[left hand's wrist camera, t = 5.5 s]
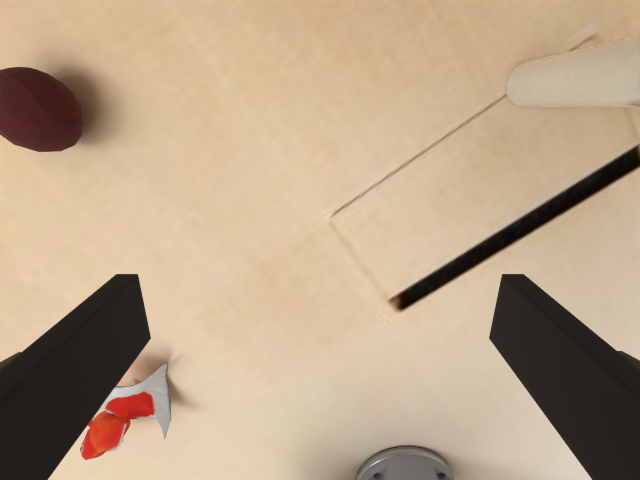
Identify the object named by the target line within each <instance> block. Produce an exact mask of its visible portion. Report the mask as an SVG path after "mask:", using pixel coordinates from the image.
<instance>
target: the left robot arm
mask: <svg viewBox="0 0 640 480" xmlns="http://www.w3.org/2000/svg"><path fill="white" fill-rule="evenodd" d="M150 339H151V337H150V332H149V327H148V322H147V317H146V312H145V307H144V302H143V297H142V292H141V287H140V283H139V278H138V274H116V275H115V276H114V277H113V278H111V279H110V280H109V281H108V282H106V283H105V284H104V285H103V286H102V287H100V288H99V289H98V290H97V291H96V292H94V293H93V294H92V295H91V296H90V297H88V298H87V299H86V300H85V301H83V302H82V303H81V304H80V305H79V306H77V307H76V308H75V309H74V310H73V311H71V312H70V313H69V314H68V315H66V316H65V317H64V318H63V319H62V320H60V321H59V322H58V323H57V324H56V325H54V326H53V327H52V328H51V329H49V330H48V331H47V332H46V333H45V334H43V335H42V336H41V337H40V338H39V339H37V340H36V341H35V342H34V343H32V344H31V345H30V346H29V347H28V348H26V349H25V350H24V351H23V352H18V353H16V354H15V355H13V356H11V357H9V358H7V359H5V360H3V361H2V362H0V480H48V478H49V477H50V476H51V474H52V473H53V472H54V470H55V469H56V467H57V466H58V465H59V463H60V462H61V461H62V459H63V458H64V456H65V455H66V454H67V452H68V451H69V450H70V448H71V447H72V446H73V444H74V443H75V441H76V440H77V439H78V437H79V436H80V435H81V433H82V432H83V430H84V429H85V428H86V426H87V425H88V424H89V422H90V421H91V420H92V418H93V417H94V415H95V414H96V413H97V411H98V410H99V409H100V407H101V406H102V404H103V403H104V402H105V400H106V399H107V398H108V396H109V395H110V393H111V392H112V391H113V389H114V388H115V387H116V385H117V384H118V383H119V381H120V380H121V378H122V377H123V376H124V374H125V373H126V372H127V370H128V369H129V367H130V366H131V365H132V363H133V362H134V361H135V359H136V358H137V357H138V355H139V354H140V352H141V351H142V350H143V348H144V347H145V346H146V344H147V343H148V341H149V340H150ZM489 339H490V340H491V341H492V343H493V344H494V346H495V347H496V348H497V350H498V351H499V352H500V354H501V355H502V357H503V358H504V359H505V361H506V362H507V363H508V365H509V366H510V367H511V369H512V370H513V372H514V373H515V374H516V376H517V377H518V378H519V380H520V381H521V383H522V384H523V385H524V387H525V388H526V389H527V391H528V392H529V393H530V395H531V396H532V398H533V399H534V400H535V402H536V403H537V404H538V406H539V407H540V409H541V410H542V411H543V413H544V414H545V415H546V417H547V418H548V420H549V421H550V422H551V424H552V425H553V426H554V428H555V429H556V430H557V432H558V433H559V435H560V436H561V437H562V439H563V440H564V441H565V443H566V444H567V446H568V447H569V448H570V450H571V451H572V452H573V454H574V455H575V456H576V458H577V459H578V461H579V462H580V463H581V465H582V466H583V467H584V469H585V470H586V472H587V473H588V474H589V476H590V477H591V478H592V480H640V361H639V360H637V359H636V358H634V357H632V356H630V355H628V354H626V353H625V352H623V351H616V350H615V349H614V348H612V347H611V346H610V345H609V344H608V343H606V342H605V341H604V340H603V339H601V338H600V337H599V336H598V335H597V334H595V333H594V332H593V331H592V330H591V329H589V328H588V327H587V326H586V325H584V324H583V323H582V322H581V321H580V320H578V319H577V318H576V317H575V316H574V315H572V314H571V313H570V312H569V311H567V310H566V309H565V308H564V307H563V306H561V305H560V304H559V303H558V302H557V301H555V300H554V299H553V298H552V297H550V296H549V295H548V294H547V293H546V292H544V291H543V290H542V289H541V288H540V287H538V286H537V285H536V284H535V283H534V282H532V281H531V280H530V279H529V278H527V277H526V276H525V275H524V274H502V278H501V283H500V287H499V292H498V297H497V302H496V307H495V312H494V317H493V322H492V327H491V332H490V337H489ZM356 480H454V479H453V476H452V474H451V471H450V468H449V466H448V464H447V463H446V462H445V460H444V459H443V458H442V457H440V456H439V455H437V454H436V453H434V452H432V451H429V450H427V449H423V448H418V447H396V448H391V449H388V450H385V451H382V452H380V453H378V454H376V455H374V456H372V457H371V458H369V459H368V460H367V461H366V462H365V463H364V464H363V465H362V466H361V468H360V469H359V471H358V473H357V476H356Z"/></svg>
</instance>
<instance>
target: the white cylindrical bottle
mask: <svg viewBox="0 0 640 480" xmlns="http://www.w3.org/2000/svg"><path fill="white" fill-rule="evenodd" d="M506 94H507V97H508V99H509V100H510V102H511V103H512V104H514V105H516V106H519V107H640V36H638V37H633V38H629V39H624V40H620V41H615V42H611V43H606V44H601V45H597V46H592V47H588V48H583V49H579V50H574V51H570V52H565V53H561V54H556V55H552V56H547V57H543V58H538V59H533V60H529V61H525V62H523V63H521V64H519V65H518V66H516V67H515V68H514V69H513V70H512V72H511V73H510V75H509V77H508V79H507V82H506Z"/></svg>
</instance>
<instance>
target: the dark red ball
mask: <svg viewBox="0 0 640 480" xmlns="http://www.w3.org/2000/svg"><path fill="white" fill-rule="evenodd" d="M82 126H83V123H82V117H81V112H80V108H79V105H78V103H77V101H76V99H75V97H74V95H73V93H72V92H71V91H70V90H69V89H68V88H67V87H66V86H65V85H64V84H63V83H61V82H60V81H58V80H56V79H55V78H53V77H52V76H50V75H49V74H47V73H44V72H41V71H39V70H36V69H32V68H26V67H13V68H7V69H3V70H0V135H2V136H3V137H4V138H6V139H7V140H9V141H10V142H11V143H13V144H14V145H18V146H21V147H24V148H28V149H31V150H34V151H38V152H51V151H62V150H65V149H67V148H69V147H72V146H74V145H75V144H76V143H77V141H78V140H79V138H80V137H81V132H82Z"/></svg>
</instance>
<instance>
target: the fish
mask: <svg viewBox="0 0 640 480" xmlns="http://www.w3.org/2000/svg"><path fill="white" fill-rule="evenodd" d="M166 374H167V362H166V363H165V364H163V365H162V366H161V367H159V368H158V369H157V370H156V371H155V372H154V373H153V374H152V375H150V376H149V377H148V378H146V379H145V380H143V381H142V382H140V383H139V384H137V385H132V386H131V382H132V380H131V382H130V385H129V386H116V387H115V388H114V389H113V391H112V392H111V393H110V395H109V396H108V398H107V399H106V400H105V402H104V403H103V404H102V406H101V407H102V408H103V409H104V410H106V411H103V412H102V413H100V414H99V415H97V416H96V418H94V417H93V418H92V420H91V421H90V422H89V424H88V425H87V426H89V427H90V429H89V430H88V431H87V434H86V436H85V439H84V441H83V443H82V445H81V449H80V451H81V455H82V457H83V458H84V459H85V460H88V459H92V458H96V457H99V456H101V455H102V454H104V453H105V452H106V451H108V452H112V451H115V450H117V449H118V448H119V447H120V446H121V444H122V442H123V436H124V435H125V433H126V432H127V430H128V428H129V426H130V419H137V418H144V417H147V418H154V419H157V420H158V421H159V423H160V425H161V428H162V430H163V434H164V439H165V437H166V434H167V431H168V427H169V424H170V421H171V400H170V393H169V388H168V382H167V376H166Z"/></svg>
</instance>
